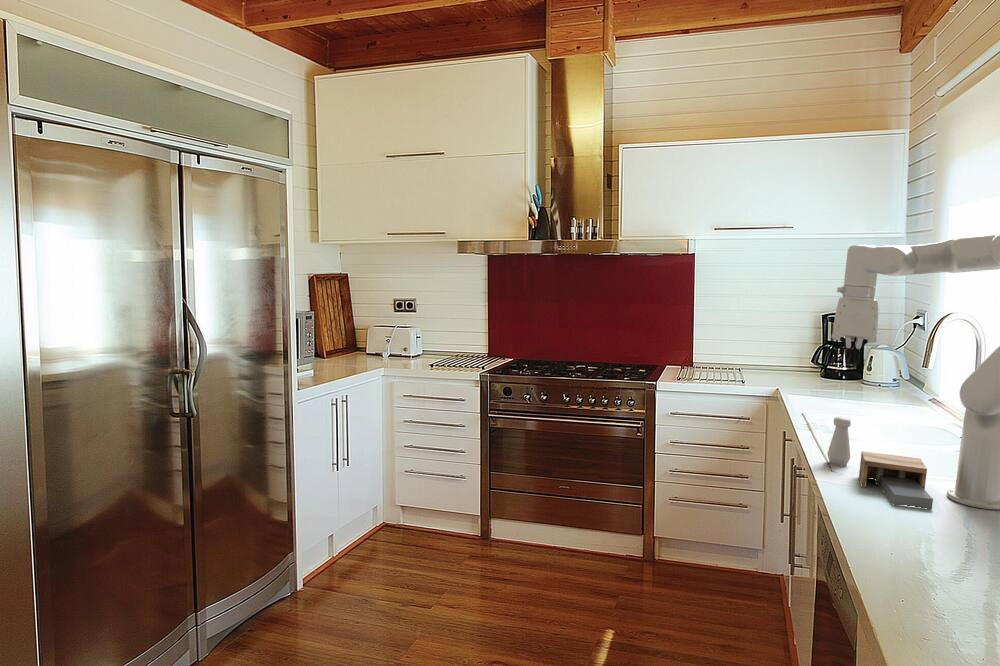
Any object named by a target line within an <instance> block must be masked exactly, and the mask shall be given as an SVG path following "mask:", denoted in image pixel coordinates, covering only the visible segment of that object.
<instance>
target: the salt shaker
mask: <svg viewBox="0 0 1000 666" xmlns="http://www.w3.org/2000/svg"><path fill="white" fill-rule="evenodd" d="M851 424H852V421H851V419H850V418H848V417H845V416H836V417H834V418H833V426H835V428H834V432H833V435H832V438H831V441H830V444H829V447H828V450H827V453H826V454H827V459H828V461H829V464H831V465H834V466H836V467H838V466H839V467H845V466H847V465H848V463H849V461H850V460H851V450H850V449H851V447H850V439H849V428H850V427H851V426H852V425H851Z"/></svg>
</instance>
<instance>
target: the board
mask: <svg viewBox="0 0 1000 666" xmlns="http://www.w3.org/2000/svg"><path fill="white" fill-rule="evenodd" d="M878 487H879V488H880V487H881V488H880V489H881V491H882V492H883V491H884V492H883V493H884V495H885V496H886V495H887V496H888V497H887V496H886V497H887V498H888V500H889V499H890V500H891V501H890V500H889V501H890V503H891V502H892V503H893V504H894V505H893V504H892V503H891V504H892V505H893V506H896V505H907V506H915V507H921V508H927V509H926V510H929V509H932V510H933V503H934V502H933V501H934V498H933V497H932V496H931V495H930V494H929V493H928V492H927V491H926V490H924V489H923V488H922V487H921V485H920V484H919V483H918V482H917V481H916V480H915V479H908V478H900V477H891V476H882V475H880V477H879V484H878ZM921 508H920V509H921Z"/></svg>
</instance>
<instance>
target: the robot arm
mask: <svg viewBox="0 0 1000 666" xmlns="http://www.w3.org/2000/svg"><path fill="white" fill-rule="evenodd" d="M992 270H993V271H995V270H1000V232H993V233H992V232H991V233H984V234H982V233H981V234H974V235H973V234H972V235H963V236H956V237H955V236H954V237H952V238H950V239H947V240H944V241H940V242H934V243H926V244H917V245H916V244H915V245H883V246H882V245H881V246H875V245H868V244H852V245H850V246H849V247H848V248H847V254H846V261H845V271H844V282H843V285H842V286H839V287H837V288H836V293H840V294H841V295H842V296H839V297H838V301H837V306H836V309H835V313H834V320H833V331H832V334H831V339H833V340H836V341H839V342H841V343H842V344H843V345H844V346H845V356H844V360H846V362H847V364H848V365H850V364H852V365H855V364H856V362H858V361H859V355H860V354H859V353H860V349H861V348H863V347H864V346H865V345H866V344H873V343H877V341H878V340H877V339H878V338H877V335H878V327H879V302H878V301H879V300H878V299H876V297H875V296H876V287H877V279H878V274H879V275H883V276H888V277H890V276H891V277H896V276H897V277H898V276H900V277H901V276H903V277H904V276H913V275H926V274H937V273H938V274H940V273H951V274H952V273H953V274H955V273H957V274H958V273H967V272H968V273H969V272H981V271H982V272H983V271H992ZM851 338H856V340H855V344H854V345H852V339H851ZM959 399H960V402H961V404H962V406H963V407H964V408H965V411H964V415H963V422H962V431H961V438H960V446H959V454H958V460H957V461H958V462H957V469H956V479H955V487H953V488H950V489H948V490H947V491H946V496H947V497H948V499H950V500H952V501H954V502H956V503H959V504H962V505H964V506H969V507H972V508H973V507H974V508H977V509H984V510H998V511H1000V345H999V346H998V347H997V348H996V349H994V350H993V352H992V353H991V354H990V355H989V356H988V357H987V358H986V359H985V360H984V361H983V362H982V363H981V364H980V365H979V366H978V367H977V368H976V369H975V370H974V371H972V373H970V375H968V377H967V378H966V379H965V380H964V381H963V383H962V384H961V386H960V389H959Z"/></svg>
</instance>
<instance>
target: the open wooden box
mask: <svg viewBox="0 0 1000 666" xmlns="http://www.w3.org/2000/svg"><path fill="white" fill-rule="evenodd" d="M927 471H928V468H927V466H926V465H925V463H924V461H923V459H922V458H919V457H910V456H904V455H903V456H902V455H894V454H887V453H879V452H871V451H864V450H863V451H862V450H861V453H860V463H859V471H858V472H859V473H858V477H860V479H859V481H861V482H860V486H861V485H862V486H861V488H862V487H863V488H864V489H866V487H867V480H868V479H867V478H873V479H872V480H874V479H876V480H874V481H875V484H876V483H877V484H876V485H879V477H880V475H882V476H891V477H900V478H908V479H915V480H916V481H917V482H918V483H919V484H920V485H921V487H922V488H923V489H924V490H925V489H926V480H927V473H928V472H927ZM925 491H926V490H925Z"/></svg>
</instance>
